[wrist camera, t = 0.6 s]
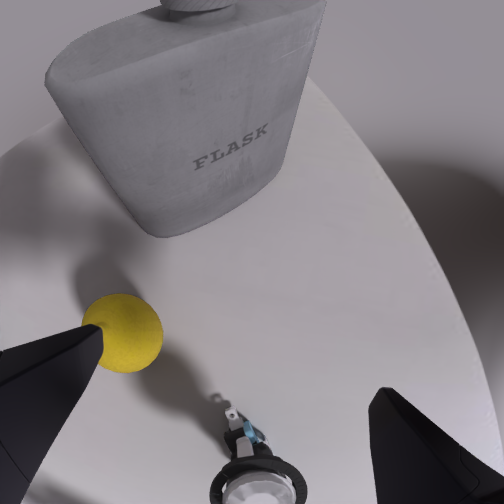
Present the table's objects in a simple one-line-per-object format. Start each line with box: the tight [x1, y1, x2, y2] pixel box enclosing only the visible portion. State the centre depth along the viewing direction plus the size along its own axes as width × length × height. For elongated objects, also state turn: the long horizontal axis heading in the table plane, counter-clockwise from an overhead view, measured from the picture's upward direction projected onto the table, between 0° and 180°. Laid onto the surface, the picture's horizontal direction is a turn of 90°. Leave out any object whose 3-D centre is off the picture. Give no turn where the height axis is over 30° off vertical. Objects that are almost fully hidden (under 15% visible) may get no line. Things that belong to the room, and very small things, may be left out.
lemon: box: [81, 293, 163, 373], centre depth 19 cm, size 6×6×8 cm
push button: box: [210, 406, 307, 504], centre depth 16 cm, size 7×5×10 cm
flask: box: [45, 0, 326, 238], centre depth 17 cm, size 15×6×20 cm, turn 125°
